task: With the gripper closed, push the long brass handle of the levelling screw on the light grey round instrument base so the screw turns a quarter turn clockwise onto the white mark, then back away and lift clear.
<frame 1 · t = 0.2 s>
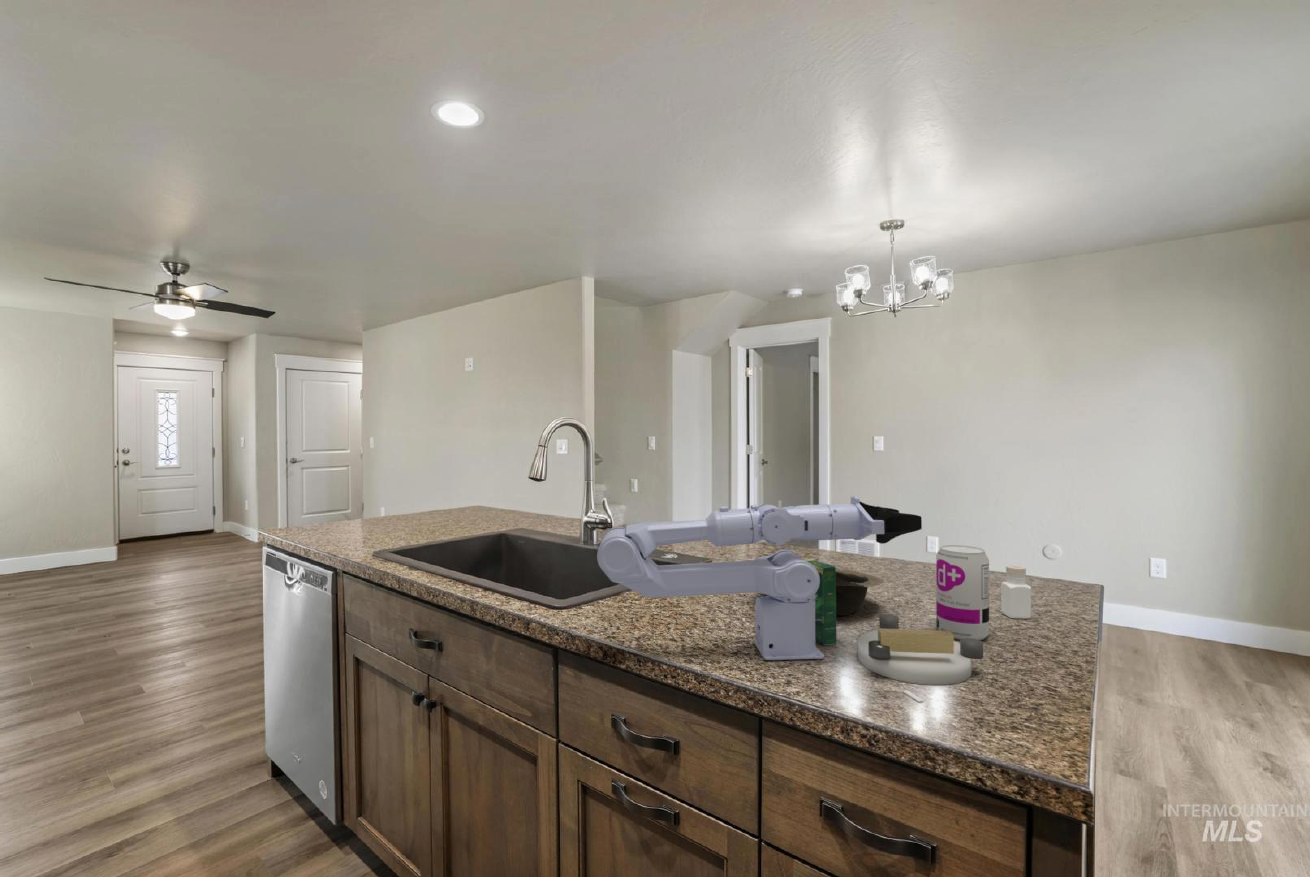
hand: (909, 519, 96), 21 cm above the worktop, tool horizontal, fingers open, 7 cm apart
stone bowl: (819, 606, 121), on the worktop
coffee box: (816, 638, 101), on the worktop
supplement can: (962, 635, 103), on the worktop
lever: (909, 644, 85), point 5 cm above the worktop, hinge at 0.0°
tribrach: (912, 662, 90), on the worktop
salt shaker: (1015, 617, 113), on the worktop
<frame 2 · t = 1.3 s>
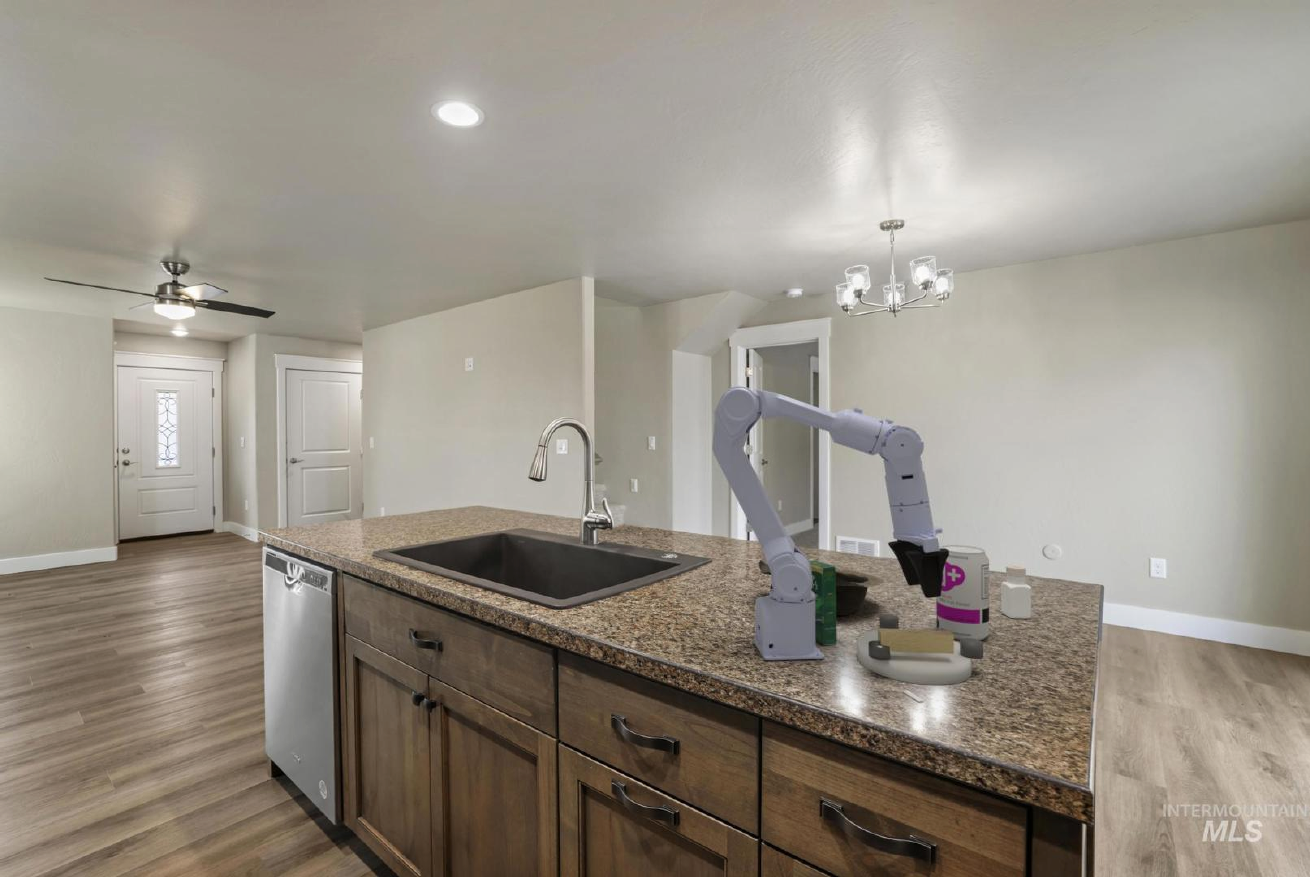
hand: (923, 590, 90), 11 cm above the worktop, tool pointing down, fingers open, 7 cm apart
nothing on the worktop moved.
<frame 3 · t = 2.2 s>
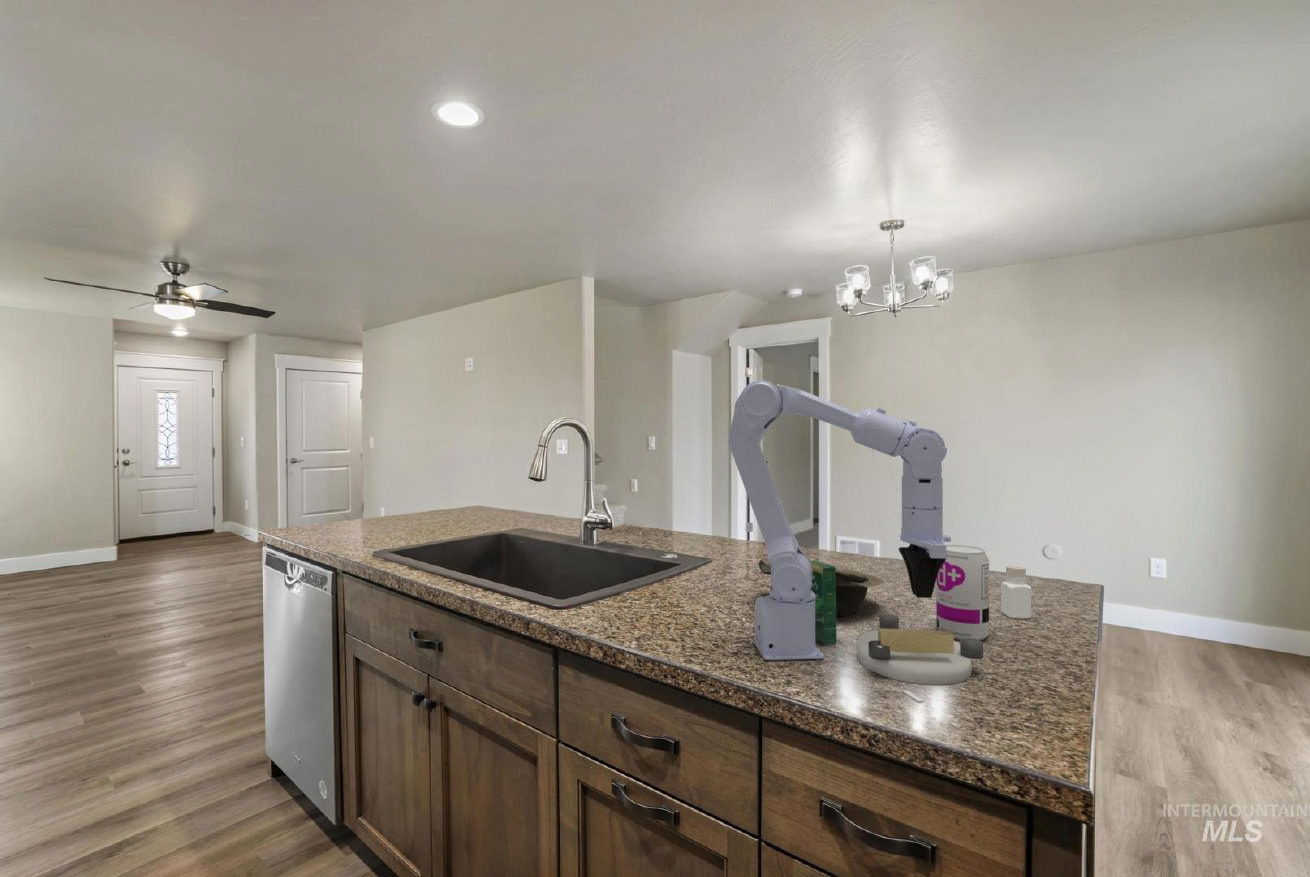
hand: (922, 595, 90), 10 cm above the worktop, tool pointing down, fingers closed
nothing on the worktop moved.
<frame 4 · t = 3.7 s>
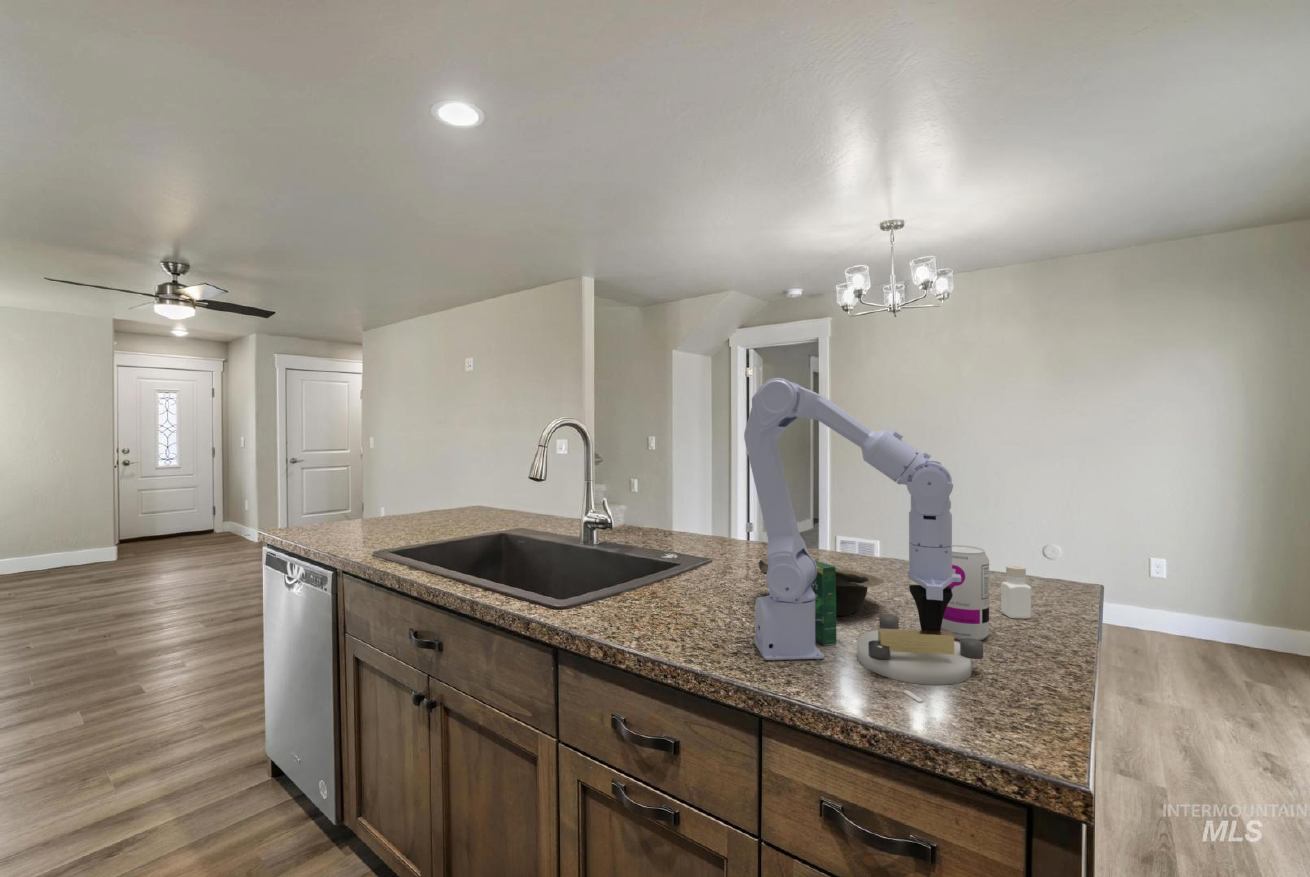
hand: (930, 636, 86), 5 cm above the worktop, tool pointing down, fingers closed, pressing on lever
lever: (909, 644, 85), point 5 cm above the worktop, hinge at -1.6°, touching gripper
everything else where it was.
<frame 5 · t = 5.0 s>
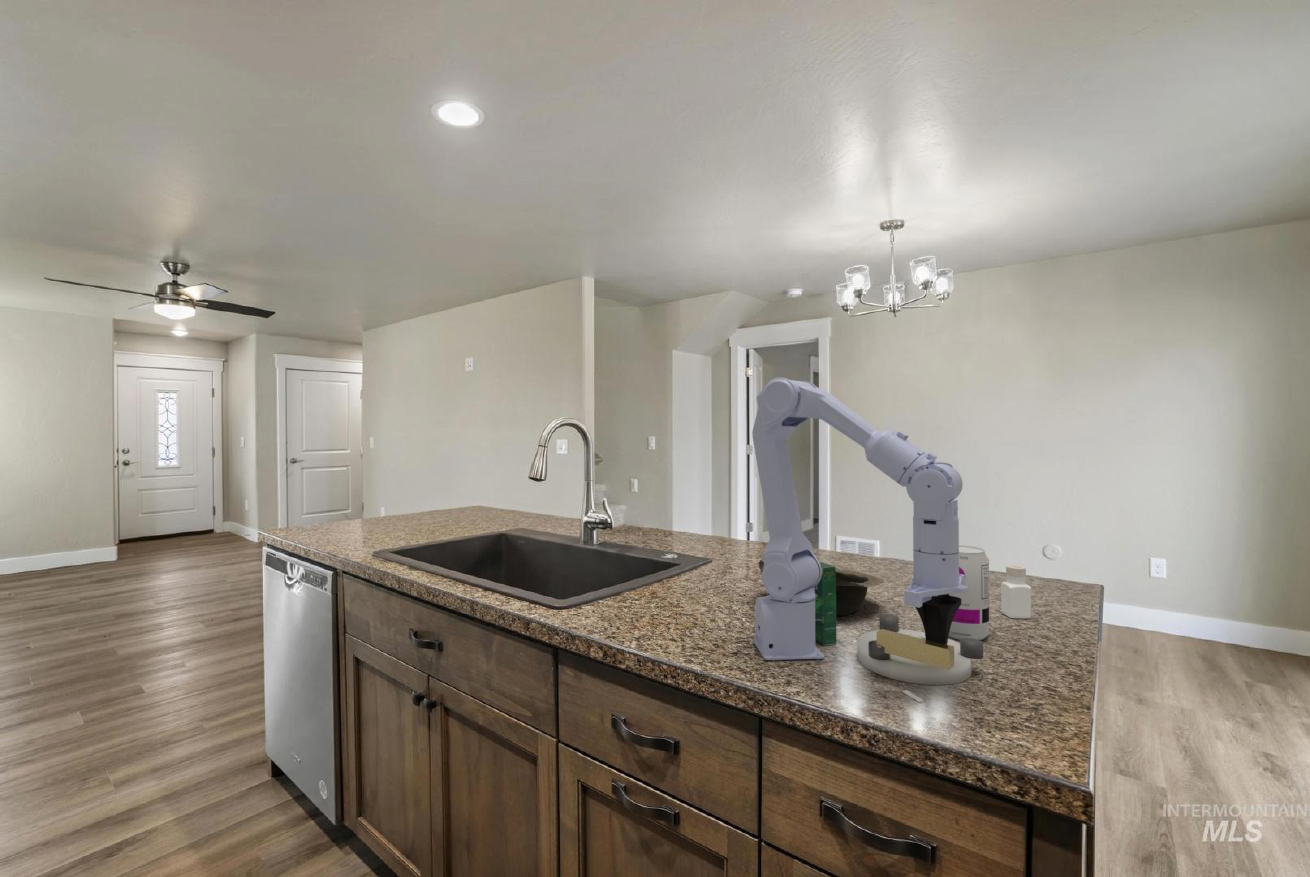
hand: (936, 648, 81), 5 cm above the worktop, tool pointing down, fingers closed, pressing on lever
lever: (908, 651, 83), point 5 cm above the worktop, hinge at -38.9°, touching gripper
everything else where it was.
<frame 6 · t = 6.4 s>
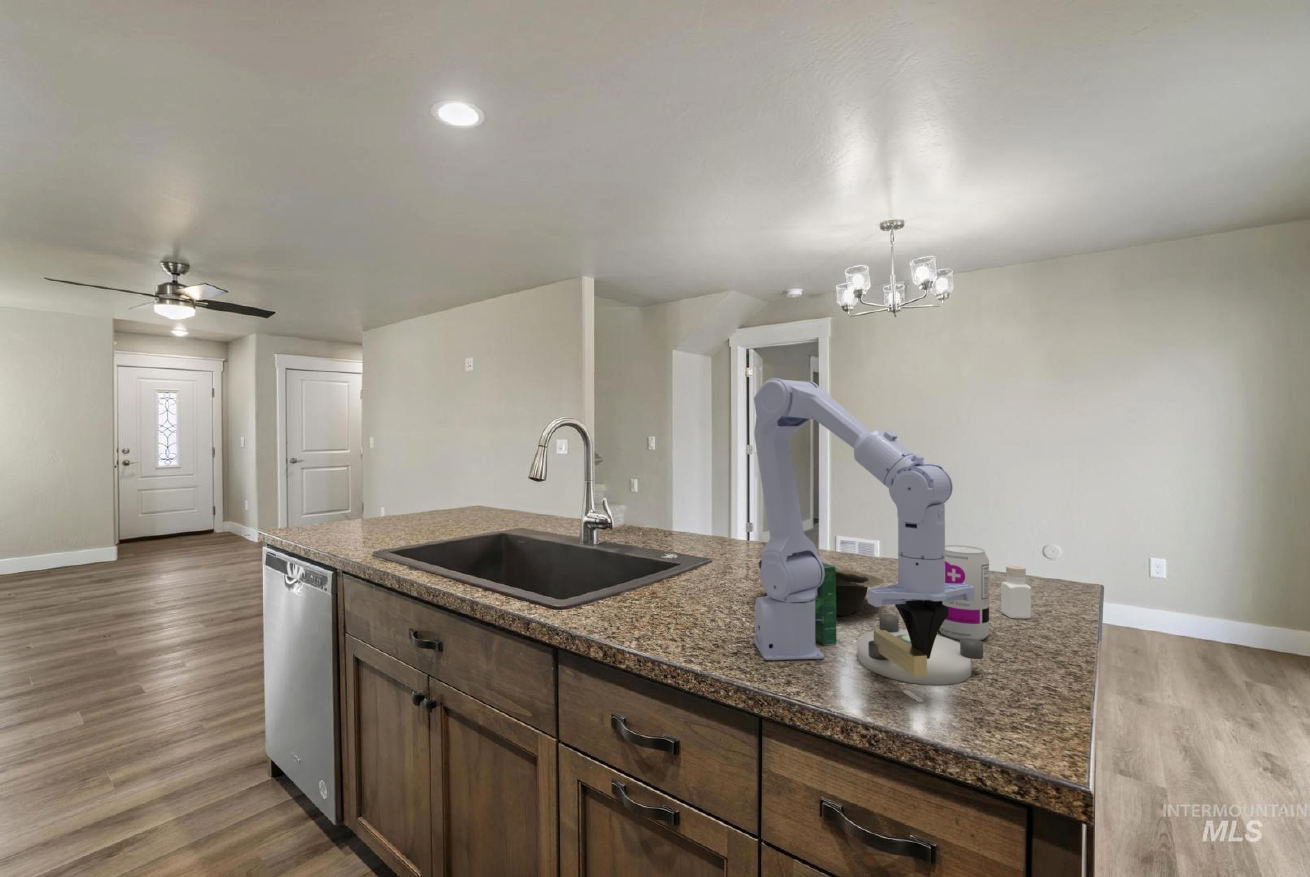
hand: (921, 656, 78), 5 cm above the worktop, tool pointing down, fingers closed
lever: (895, 654, 81), point 5 cm above the worktop, hinge at -74.1°, touching gripper
everything else where it was.
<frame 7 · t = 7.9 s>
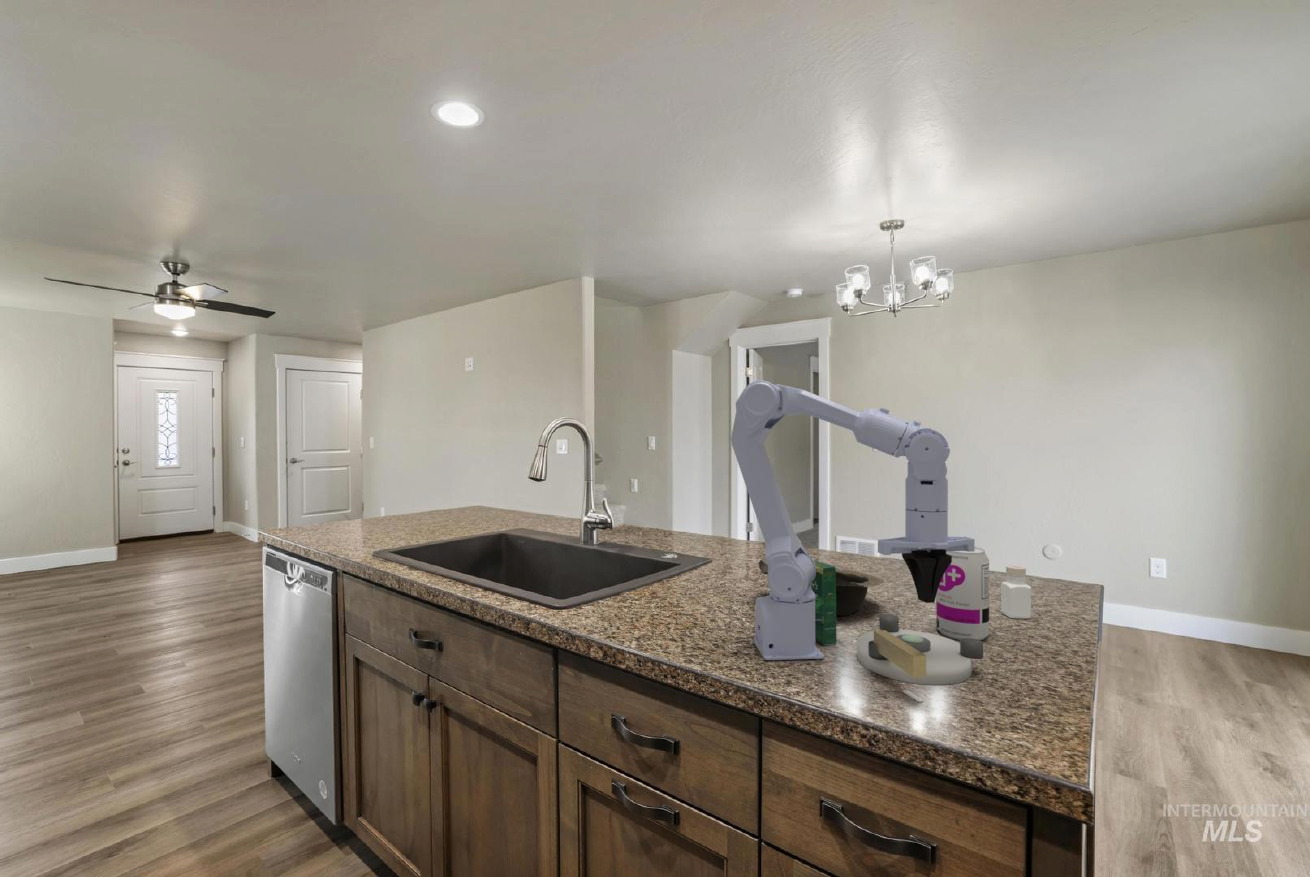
hand: (926, 601, 87), 10 cm above the worktop, tool pointing down, fingers closed
lever: (895, 654, 81), point 5 cm above the worktop, hinge at -74.7°
everything else where it was.
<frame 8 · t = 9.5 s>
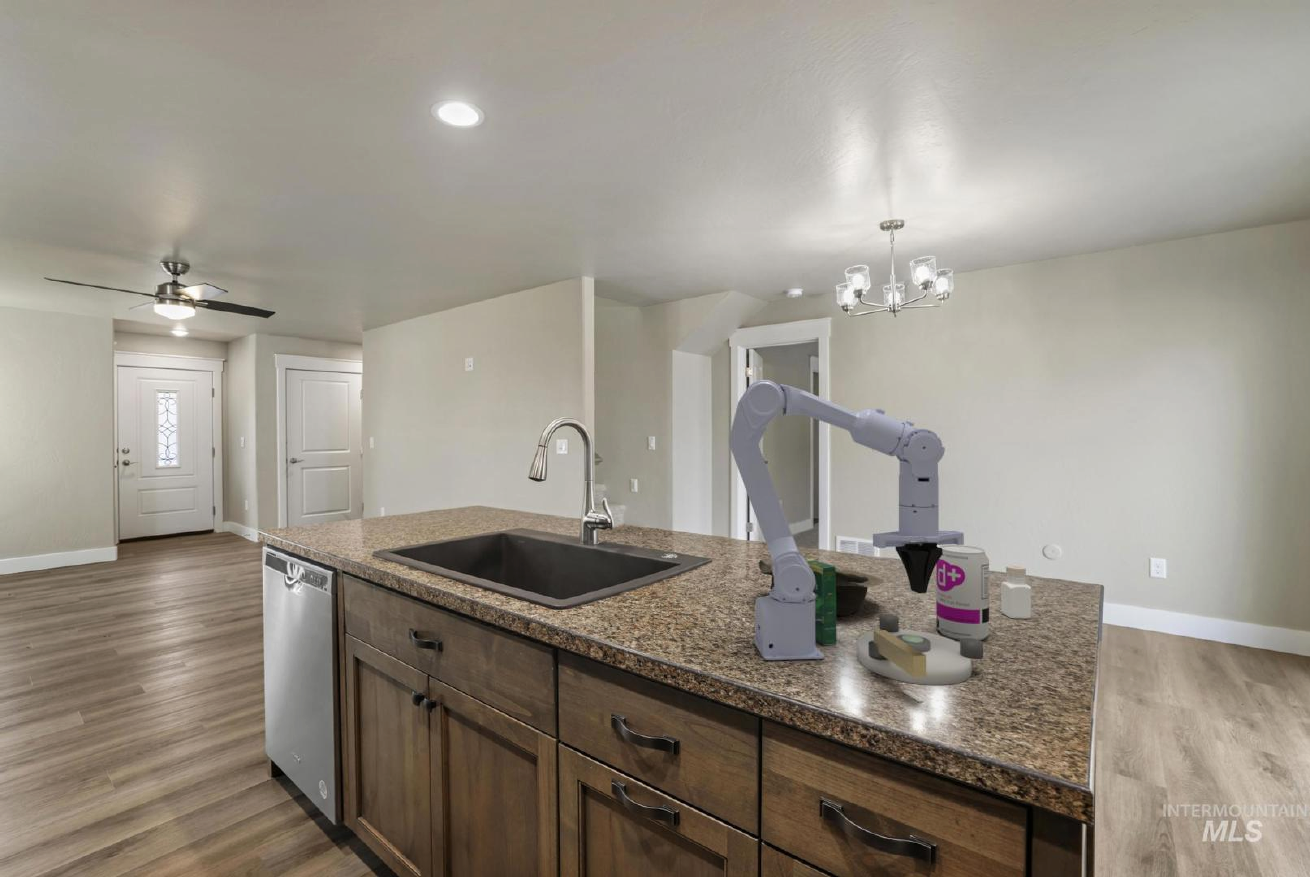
hand: (918, 591, 92), 10 cm above the worktop, tool pointing down, fingers closed
nothing on the worktop moved.
at the end: lever at -75° (first picture: +0°) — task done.
